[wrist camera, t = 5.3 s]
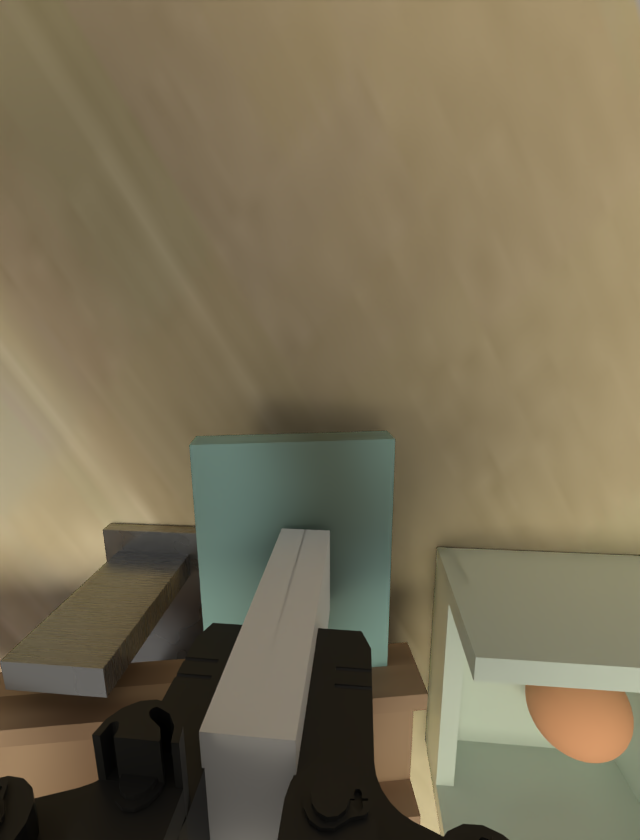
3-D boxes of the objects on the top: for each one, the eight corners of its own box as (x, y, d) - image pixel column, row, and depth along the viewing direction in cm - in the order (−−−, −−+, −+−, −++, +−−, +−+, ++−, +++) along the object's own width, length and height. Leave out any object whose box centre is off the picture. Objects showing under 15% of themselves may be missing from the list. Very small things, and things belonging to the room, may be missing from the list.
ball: (668, 701, 14) (590, 627, 17) (572, 712, 14) (511, 635, 17) (651, 782, 15) (579, 697, 18) (559, 795, 14) (503, 706, 18)
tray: (437, 547, 17) (475, 657, 12) (655, 556, 17) (814, 678, 11) (425, 739, 20) (452, 912, 14) (618, 755, 19) (733, 946, 13)
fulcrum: (110, 523, 19) (-26, 630, 12) (205, 527, 18) (118, 640, 12) (135, 723, 21) (33, 903, 14) (220, 730, 21) (154, 919, 14)
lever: (-165, 787, 16) (-336, 964, 12) (-282, 436, 13) (-574, 493, 9) (390, 735, 18) (426, 869, 14) (402, 419, 15) (454, 458, 11)
